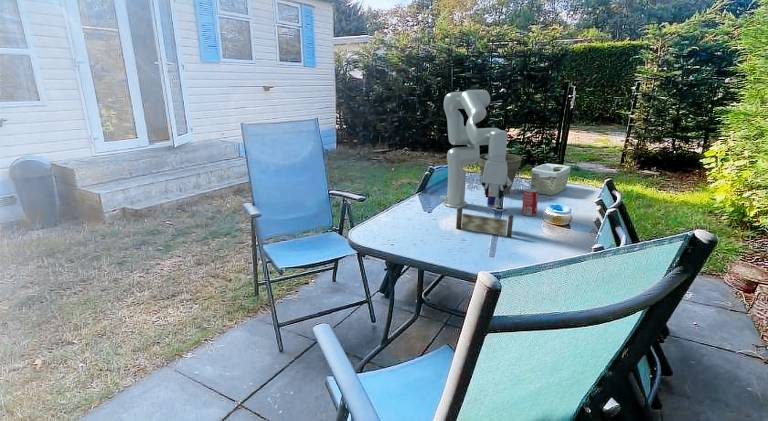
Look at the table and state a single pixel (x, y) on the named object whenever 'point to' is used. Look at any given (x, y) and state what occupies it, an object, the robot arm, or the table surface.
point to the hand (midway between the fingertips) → (493, 197)
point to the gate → (484, 224)
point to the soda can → (530, 202)
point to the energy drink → (493, 196)
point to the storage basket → (549, 178)
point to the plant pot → (512, 167)
